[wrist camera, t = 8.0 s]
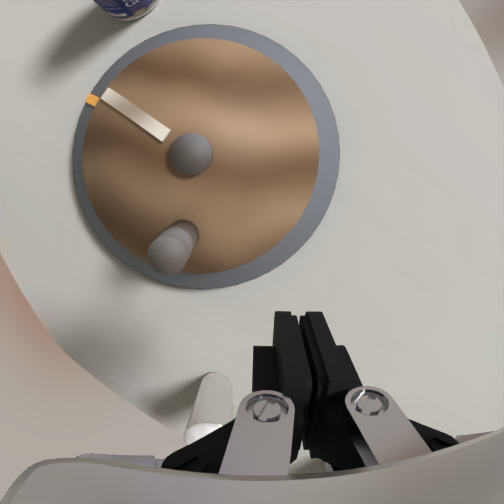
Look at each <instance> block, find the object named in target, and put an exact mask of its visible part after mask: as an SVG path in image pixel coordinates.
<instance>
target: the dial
mask: <svg viewBox="0 0 504 504" xmlns="http://www.w3.org/2000/svg"><path fill="white" fill-rule="evenodd" d="M318 165H319V139H318V133H317V128H316V123H315V120H314V117H313V114H312V111H311V108H310V106H309V104H308V102H307V100H306V98H305V96H304V94H303V93H302V91H301V90H300V88H299V87H298V85H297V84H296V83H295V81H294V80H293V79H292V78H291V77H290V76H289V75H288V73H287V72H286V71H285V70H284V69H283V68H281V67H280V66H279V65H278V64H277V63H275V62H274V61H273V60H272V59H270V58H269V57H267V56H265V55H264V54H262V53H260V52H258V51H257V50H254V49H252V48H250V47H247V46H245V45H242V44H239V43H235V42H231V41H228V40H221V39H212V38H195V39H188V40H181V41H177V42H173V43H169V44H166V45H163V46H161V47H158V48H156V49H154V50H151V51H149V52H147V53H146V54H144V55H142V56H141V57H139V58H137V59H136V60H134V61H133V62H132V63H130V64H129V65H128V66H127V67H125V68H124V69H123V70H122V71H121V72H120V73H119V74H118V75H117V76H116V77H115V78H114V79H113V80H112V81H111V83H110V84H109V85H108V86H107V88H106V89H105V90H104V92H103V93H102V95H101V97H100V98H99V100H98V102H97V103H96V105H95V108H94V110H93V112H92V114H91V117H90V119H89V123H88V126H87V129H86V133H85V139H84V145H83V173H84V180H85V184H86V189H87V193H88V195H89V198H90V201H91V204H92V206H93V208H94V210H95V212H96V214H97V216H98V218H99V219H100V221H101V222H102V224H103V225H104V227H105V228H106V230H107V231H108V232H109V233H110V234H111V235H112V236H113V238H114V239H115V240H116V241H117V242H118V243H120V244H121V245H122V246H123V247H124V248H125V249H126V250H128V251H129V252H131V253H132V254H134V255H135V256H137V257H138V258H140V259H142V260H144V261H146V262H148V263H149V264H150V265H151V267H152V268H153V269H154V270H155V271H156V272H158V273H160V274H162V275H167V276H170V275H175V274H177V273H179V272H180V273H190V274H205V273H215V272H221V271H226V270H229V269H233V268H236V267H239V266H242V265H244V264H246V263H248V262H251V261H253V260H255V259H256V258H258V257H260V256H261V255H263V254H265V253H266V252H268V251H269V250H270V249H272V248H273V247H274V246H275V245H276V244H278V243H279V242H280V241H281V240H282V239H283V238H284V237H285V236H286V235H287V234H288V233H289V232H290V231H291V229H292V228H293V227H294V225H295V224H296V223H297V221H298V220H299V219H300V217H301V215H302V214H303V212H304V210H305V208H306V206H307V204H308V202H309V200H310V197H311V195H312V192H313V189H314V186H315V182H316V178H317V173H318Z"/></svg>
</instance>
